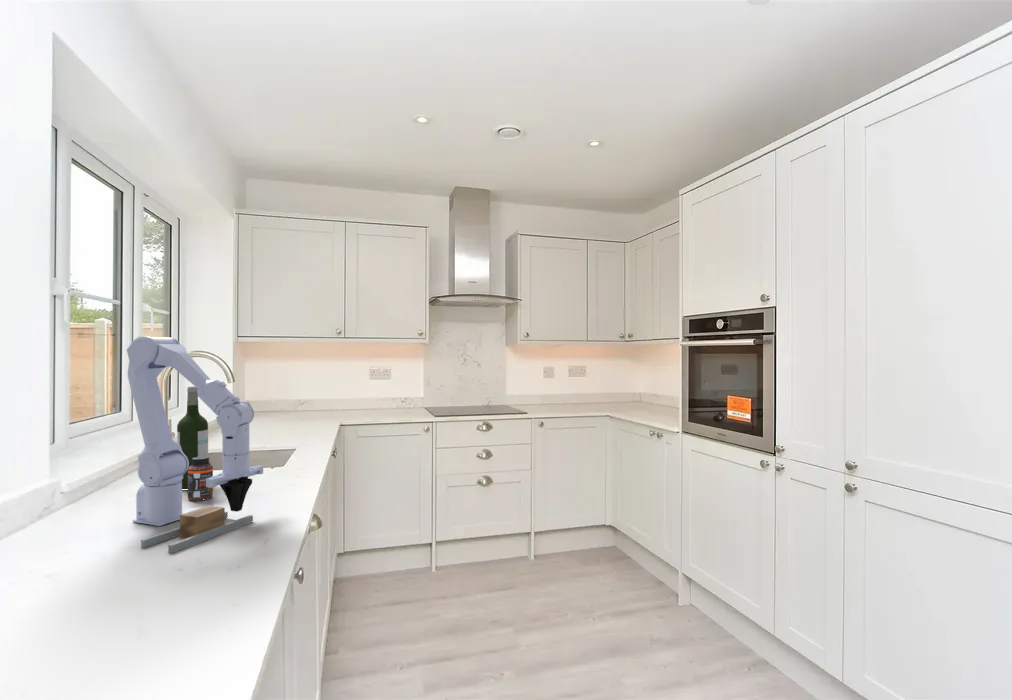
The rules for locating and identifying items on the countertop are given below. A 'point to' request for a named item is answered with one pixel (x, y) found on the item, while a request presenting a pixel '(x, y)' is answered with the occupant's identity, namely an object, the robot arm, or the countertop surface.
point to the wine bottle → (192, 432)
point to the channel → (194, 539)
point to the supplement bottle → (199, 479)
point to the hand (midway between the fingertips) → (236, 510)
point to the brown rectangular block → (201, 520)
